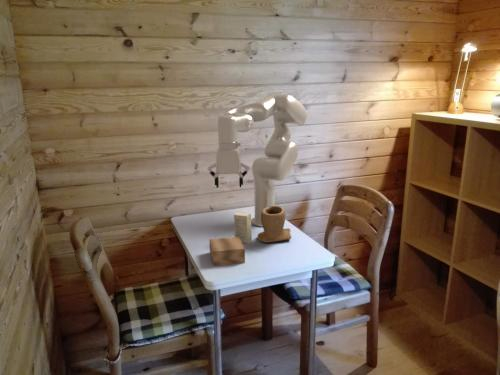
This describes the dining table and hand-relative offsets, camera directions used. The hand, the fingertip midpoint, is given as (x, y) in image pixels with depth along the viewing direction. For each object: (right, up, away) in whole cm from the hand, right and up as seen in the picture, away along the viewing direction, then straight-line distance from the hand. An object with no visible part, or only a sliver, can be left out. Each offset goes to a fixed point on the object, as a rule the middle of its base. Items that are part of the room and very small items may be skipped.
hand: (229, 186), depth 170 cm
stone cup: (+20, -23, +5) cm, 31 cm away
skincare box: (+6, -23, +4) cm, 24 cm away
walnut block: (0, -28, -12) cm, 30 cm away
